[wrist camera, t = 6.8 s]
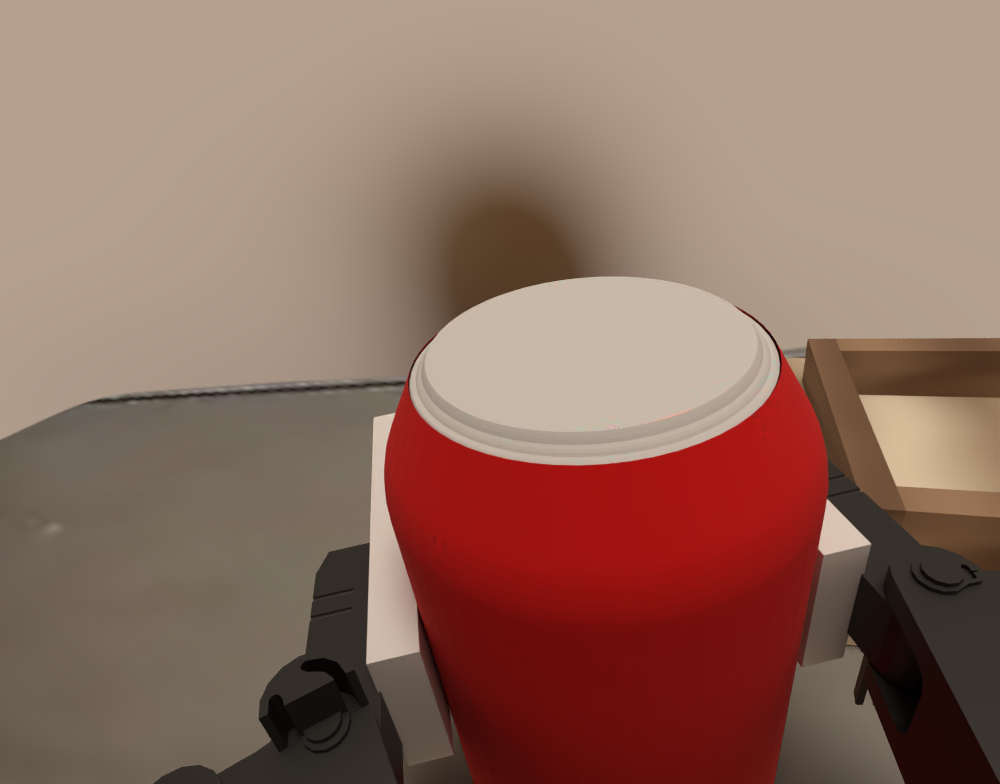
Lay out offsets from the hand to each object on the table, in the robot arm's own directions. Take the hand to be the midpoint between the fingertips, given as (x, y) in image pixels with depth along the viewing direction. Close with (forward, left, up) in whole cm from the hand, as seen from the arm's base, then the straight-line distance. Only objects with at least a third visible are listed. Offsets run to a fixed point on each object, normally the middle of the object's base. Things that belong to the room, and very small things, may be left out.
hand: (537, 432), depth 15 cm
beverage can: (+2, -5, -7) cm, 9 cm away
